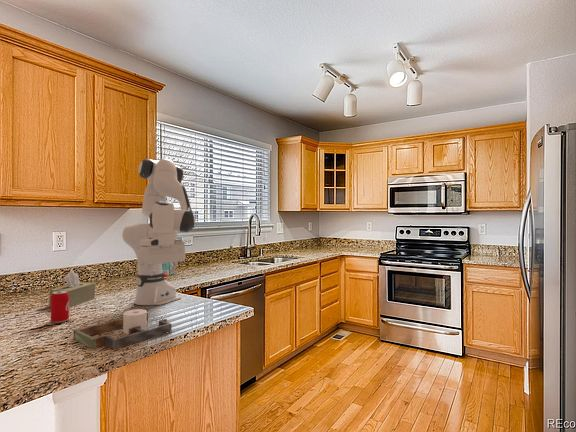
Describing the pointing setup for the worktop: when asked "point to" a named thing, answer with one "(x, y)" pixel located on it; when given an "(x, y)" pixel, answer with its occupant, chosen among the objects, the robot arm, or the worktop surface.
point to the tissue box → (76, 290)
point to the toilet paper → (134, 319)
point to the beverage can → (59, 306)
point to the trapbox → (134, 336)
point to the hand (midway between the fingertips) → (162, 274)
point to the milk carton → (166, 268)
